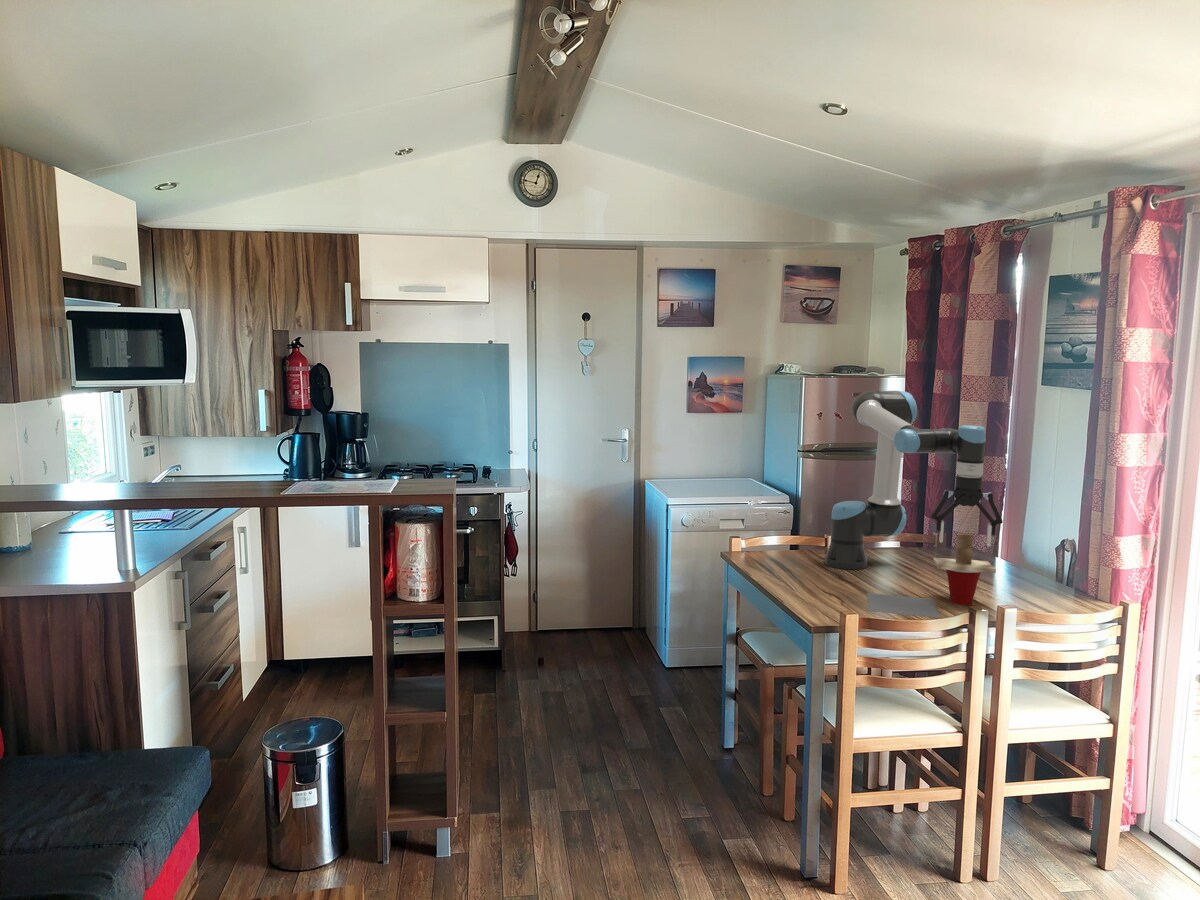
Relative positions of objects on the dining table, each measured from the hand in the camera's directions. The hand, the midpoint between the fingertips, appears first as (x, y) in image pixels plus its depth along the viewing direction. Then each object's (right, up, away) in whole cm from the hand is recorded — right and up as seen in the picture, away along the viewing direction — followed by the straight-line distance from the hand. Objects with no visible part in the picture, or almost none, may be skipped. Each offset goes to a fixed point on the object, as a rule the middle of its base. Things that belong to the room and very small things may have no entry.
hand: (964, 543), depth 257 cm
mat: (-20, -19, -2) cm, 28 cm away
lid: (0, -7, +1) cm, 7 cm away
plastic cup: (0, -19, +2) cm, 20 cm away
